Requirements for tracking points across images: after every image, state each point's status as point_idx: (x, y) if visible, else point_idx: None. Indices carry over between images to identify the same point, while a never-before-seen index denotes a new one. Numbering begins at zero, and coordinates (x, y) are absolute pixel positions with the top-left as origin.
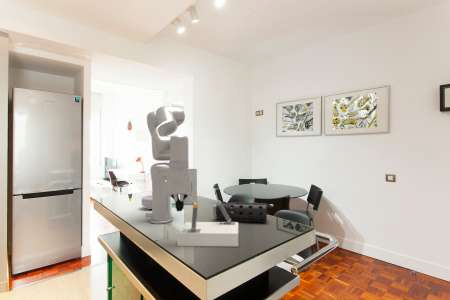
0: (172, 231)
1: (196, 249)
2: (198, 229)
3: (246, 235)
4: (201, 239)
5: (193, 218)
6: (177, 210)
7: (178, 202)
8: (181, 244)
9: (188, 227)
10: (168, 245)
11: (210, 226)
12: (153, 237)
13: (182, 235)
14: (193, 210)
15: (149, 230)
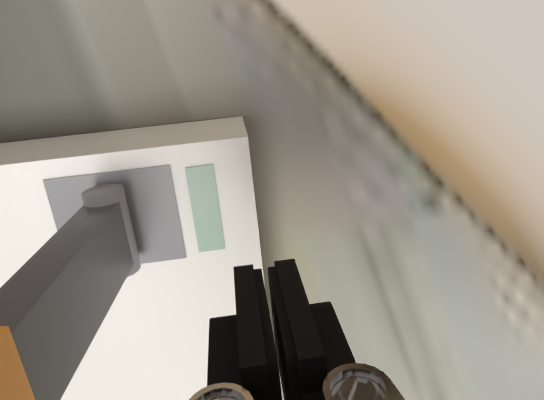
0: None
1: (68, 68)
2: None
3: None
4: (35, 149)
5: (66, 246)
6: (282, 262)
7: (285, 354)
8: (211, 121)
9: (205, 299)
10: (313, 117)
11: None
12: (469, 246)
13: (199, 136)
14: (24, 306)
15: (533, 358)
